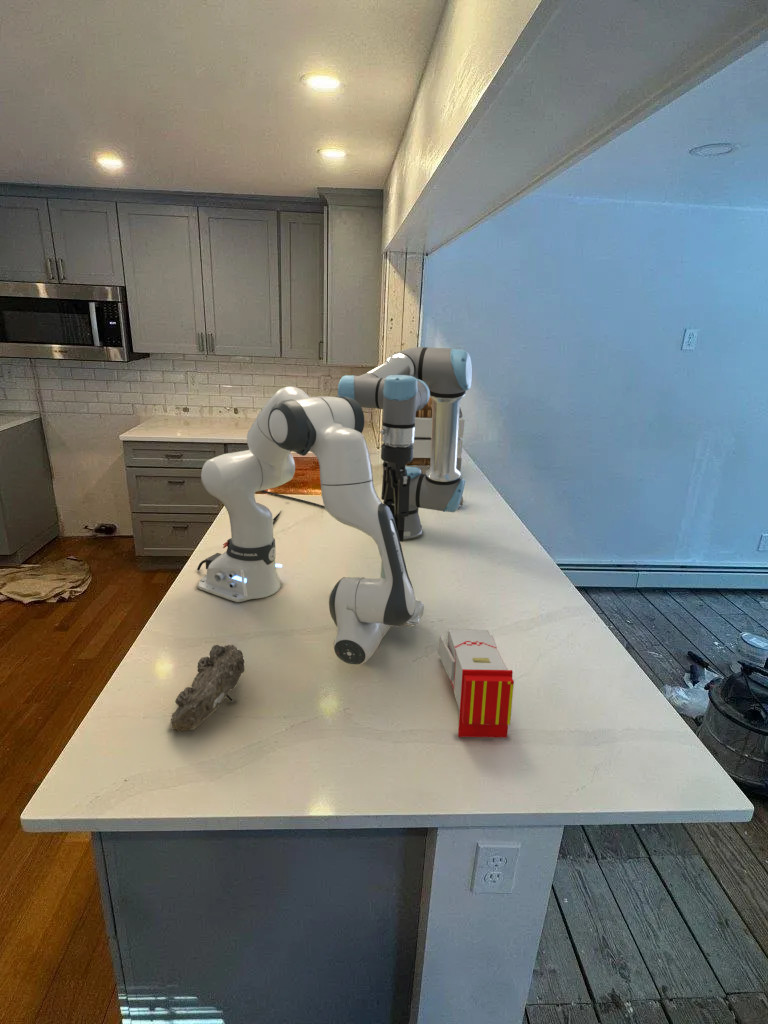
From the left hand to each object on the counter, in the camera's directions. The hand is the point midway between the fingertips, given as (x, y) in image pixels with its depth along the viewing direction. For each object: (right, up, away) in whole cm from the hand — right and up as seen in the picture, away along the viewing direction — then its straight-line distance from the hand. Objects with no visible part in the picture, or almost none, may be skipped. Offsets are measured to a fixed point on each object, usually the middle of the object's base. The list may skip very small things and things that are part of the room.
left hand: (390, 591), depth 146 cm
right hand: (0, +15, -6) cm, 16 cm away
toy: (+16, -17, -27) cm, 36 cm away
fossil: (-36, -17, -33) cm, 51 cm away
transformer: (+16, +39, +129) cm, 136 cm away
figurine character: (+26, +23, +86) cm, 93 cm away
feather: (-41, +19, +67) cm, 81 cm away
